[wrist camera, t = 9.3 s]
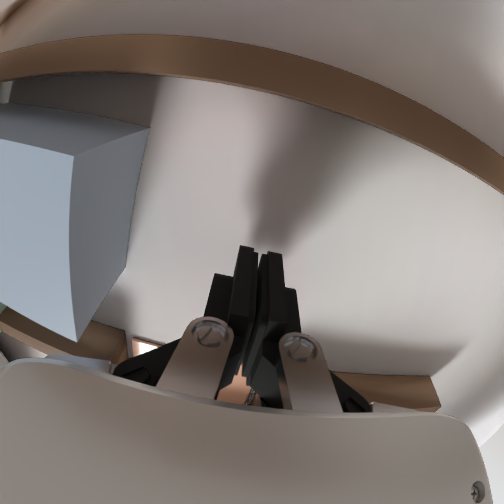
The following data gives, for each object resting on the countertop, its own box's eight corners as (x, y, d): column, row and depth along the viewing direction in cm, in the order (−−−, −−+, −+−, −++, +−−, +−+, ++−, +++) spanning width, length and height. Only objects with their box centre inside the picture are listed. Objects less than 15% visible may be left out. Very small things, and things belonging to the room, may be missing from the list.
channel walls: (383, 421, 21) (389, 448, 19) (42, 355, 19) (27, 380, 16) (538, 198, 10) (569, 220, 8) (2, 61, 8) (-37, 66, 5)
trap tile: (242, 405, 19) (242, 407, 19) (137, 381, 19) (136, 383, 19) (260, 366, 17) (259, 368, 17) (132, 337, 16) (131, 339, 16)
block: (126, 265, 14) (77, 342, 9) (6, 217, 13) (-53, 265, 8) (151, 127, 10) (73, 156, 6) (10, 102, 9) (-69, 125, 5)
